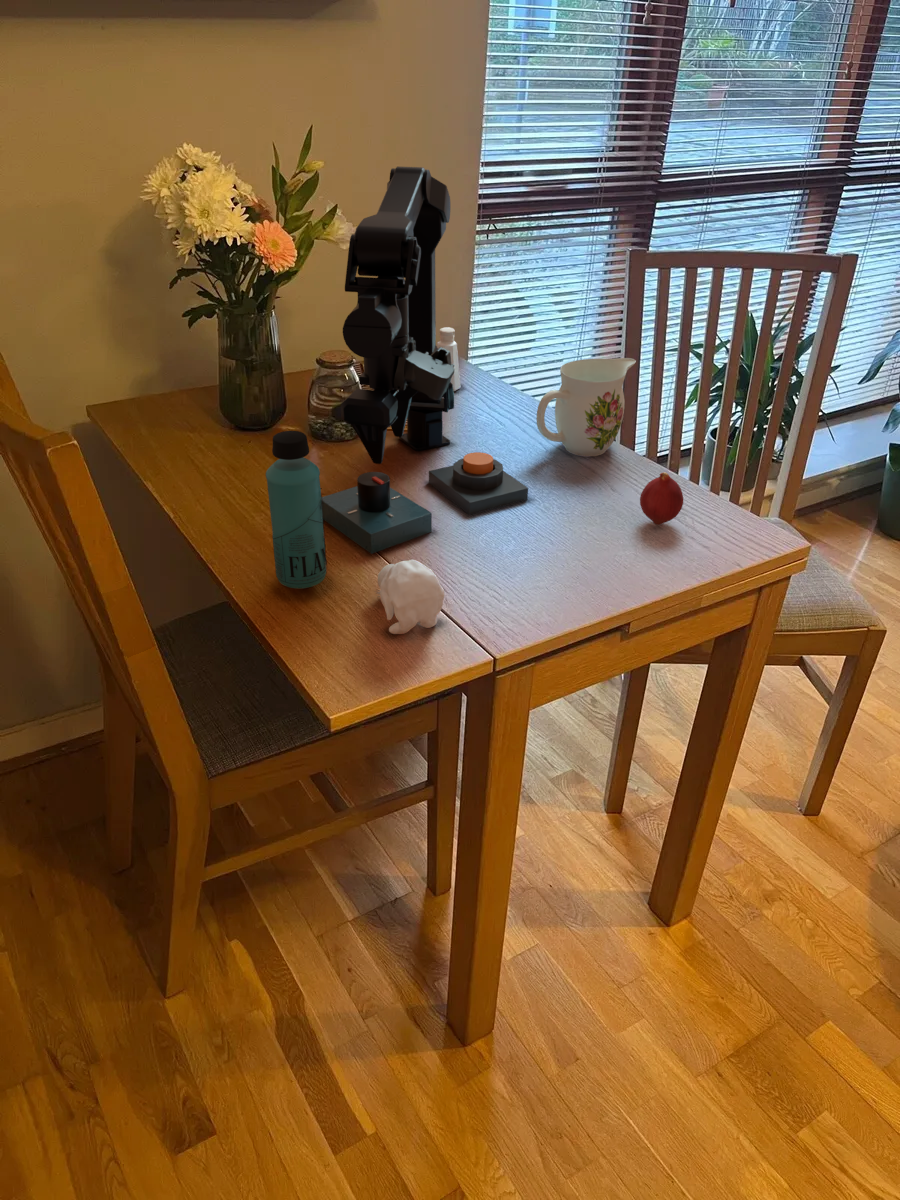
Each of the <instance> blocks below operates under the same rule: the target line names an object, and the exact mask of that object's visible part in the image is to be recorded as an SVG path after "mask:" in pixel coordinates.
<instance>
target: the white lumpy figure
mask: <svg viewBox="0 0 900 1200" xmlns="http://www.w3.org/2000/svg"><path fill="white" fill-rule="evenodd" d="M377 586H378V588H379V589H378V590H377V589H376V592H374V593H375V594H376V595H378V596H377V598H380V603H381V604H382V606H383V608H384V611H385V615H386V619H387V621H391V620H392V619H393V618H394V616H395V618H396V620H397V622H395V623H393V624H391V625H390V626H389V627H388V632H389V633H390V634H393V635H403V634H406V633H408V632H409V631H410V630H412V629H413V628H414V627H416V626H417V624H418V623H419V625H420V626H421V627H423V628H424V629H425V628H426V629H431V628H432V627H434V626H435V625H437V623H438V616H437V615H439V613H440V612H441V611H442V608H443V604H444V599H445V589H444V588H443V586H442V585H441V583H440V580H439V577H438V576H437V575H436V573H435V572H434V571H433V570H432V569H431V568H430V567H428V566H426V565H425V564H424V563H422V562H420V561H418V560H416V559H409V560H401V561H399V562H395V563H388V564H386V565H385V566H384V567H382V568H381V569H380V571H379V572H378V574H377Z"/></svg>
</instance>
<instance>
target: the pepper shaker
mask: <svg viewBox="0 0 900 1200" xmlns="http://www.w3.org/2000/svg"><path fill="white" fill-rule="evenodd" d="M438 332H439V341H437V342H436V346H437V348H439V347H442V348H445V349H447V350H449V351H450V354H451V364H454V365H455V366H454V369H455V370H454V374H453V376H452V378H451V383H452V384H453V390H454V392H456V391H457V390H459V389H461V388H462V387H461V376H460V375H461V373H460V362H459V352H458V343H457V342H456V341H455V332H456V330H455V328H453V327H449V326H445V327H441V328H440V329H439V331H438Z"/></svg>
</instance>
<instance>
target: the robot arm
mask: <svg viewBox="0 0 900 1200" xmlns="http://www.w3.org/2000/svg"><path fill="white" fill-rule="evenodd" d="M450 218H451V196H450V193H449V190H448V186H447V185H446V184H444V183H443V182H441V181H440V180H438V179H437V178H435V177H433V176H432V174H431V172H430V169H426V168H425V167H422V166H400V165H399V166H396V167H395V168H393V167H392V168H391V169H390V172H389V180H388V182H386V191H385V194H384V195H383V198H382V201H381V203H380V205H379V207H378V210H377V212H376V213H375V214H373V215H370V216H367V217H364V218H363V219H362V220H361V221H360V222H359V223H358V225H357V226H356V228H355V231H354V233H352V234H351V235H350V237H349V244H348V253H347V263H346V269H345V270H346V272H345V279H344V280H345V281H344V292H345V293H357V303H356V306H355V307H354V308H353V309H352V310H351V311H350V313H348V315H347V317H346V318H345V320H344V322H343V326H342V337H343V340H344V343H345V345H346V346H347V347H348V349H349V350H350V351H351V352H352V353H353V354H355V355H357V356H358V357H360V358H363V372H362V373H361V374H360V375H359V376H358V380H359V381H358V382H359V385H362V386H369V389H363V388H355V389H354V390H353V391H352V392H351V393H350V394H349V395H348V396H347V397H346V398H345V399H344V400H343V401H342V402H341V403H340V415H341V417H340V418H341V420H343V421H344V422H346V423H347V424H349V425H350V426H351V427H352V429H353V430H354V432H355V433H356V435H357V436H358V438H359V441H360V442H361V443H362V445H363V447H364V449H365V450H366V452H367V454H368V456H369V458H370V459H371V461H372V463H373V464H377V465H381V464H382V463H383V459H384V455H385V447H386V439H387V438H386V437H387V431H388V429H389V428H391V430H392V434H393V435H394V437H397V438H398V439H399V440H401V441H402V442H403V443H405V444H406V445H407V446H409V447H410V448H411V449H413V450H414V451H416V452H421V451H425V450H430V449H434V448H439V447H442V446H447V445H451V440H450V439H449V438H447V437H446V436H444V435H443V430H444V429H443V425H444V424H443V413H449V411H450V410H454V409H455V391H454V390H453V384H452V383H451V378H452V376H453V374H454V370H455V369H454V366H455V365H454V364H451V354H450V351H449V350H447V349H445V348H442V347H439V348H437V342H436V340H437V337H436V336H437V335H436V333H437V331H436V327H437V326H436V323H437V322H436V317H437V316H436V315H437V314H436V312H437V311H436V249H437V247H438V245H439V243H440V241H441V240H442V238H443V236H444V234H445V232H446V230H447V224H448V223H449V222H450V220H451V219H450ZM357 275H358V276H357ZM405 428H406V429H407V430H406V432H405ZM404 432H405V433H404Z"/></svg>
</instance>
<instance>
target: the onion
mask: <svg viewBox="0 0 900 1200" xmlns="http://www.w3.org/2000/svg"><path fill="white" fill-rule="evenodd" d="M639 505H640V508H641V510H642V513H643V514H644V515H645V516H646V517H647V518H648V519H649V520H650V521H652V523H653V524H654V525H656V526H660V525H663V524H664V523H668V522H669V521H670V522H671V521H672V520H673V519H675V518H676V517H677V516H678V515H679V513H680V512H681V511H682V508H683V505H684V494H683V491H682V488H681V486H680V485H679V484H678V482H677V481H676V480H674V479H673V478H672V477H671V476H670V474H669V473H667V472H665V471H663V472H660V473H659V477H655V478H653V479H652V480H651V481H649V482H648V483H646V485H645V486H644V488H643V490H642V491H641V493H640V497H639Z"/></svg>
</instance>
